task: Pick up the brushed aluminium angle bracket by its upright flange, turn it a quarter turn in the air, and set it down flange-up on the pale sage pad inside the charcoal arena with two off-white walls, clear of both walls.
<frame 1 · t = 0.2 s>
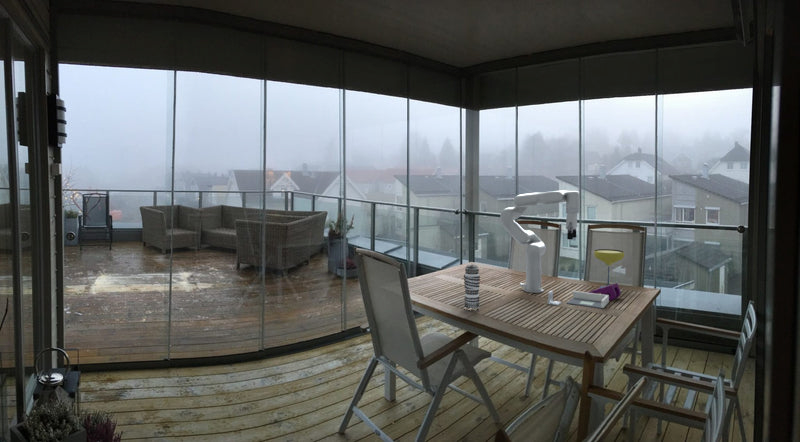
hand: (571, 238, 286), 36 cm above the table, tool pointing down, fingers open, 9 cm apart
angle bracket: (554, 303, 272), on the table
arena: (587, 303, 271), on the table
cocktail glass: (608, 288, 309), on the table
decorative candle: (471, 308, 263), on the table
mounting bracket: (602, 298, 285), on the table
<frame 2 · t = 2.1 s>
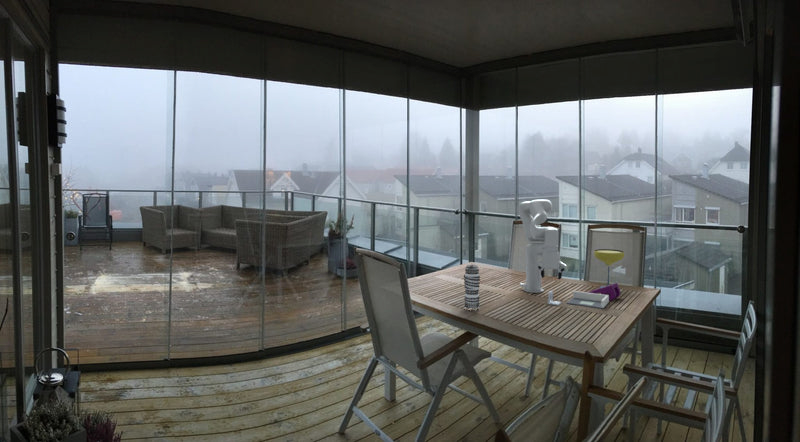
hand: (551, 278, 271), 15 cm above the table, tool pointing down, fingers open, 9 cm apart
nothing on the table moved.
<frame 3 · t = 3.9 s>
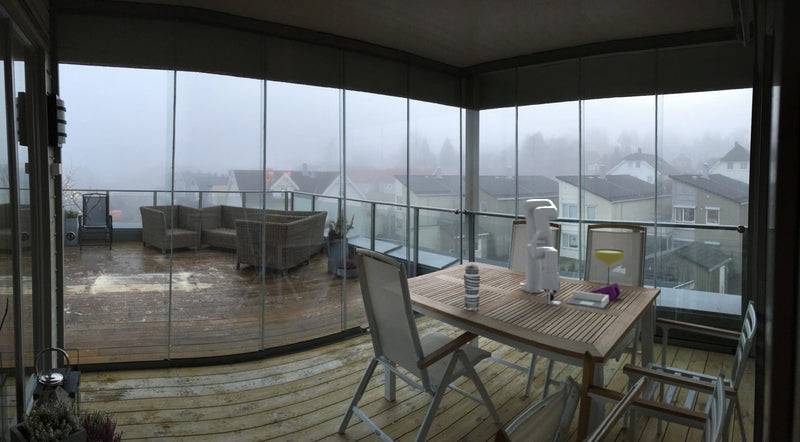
hand: (550, 300, 273), 1 cm above the table, tool pointing down, fingers closed on angle bracket
angle bracket: (554, 303, 272), on the table, touching gripper
everything else where it was.
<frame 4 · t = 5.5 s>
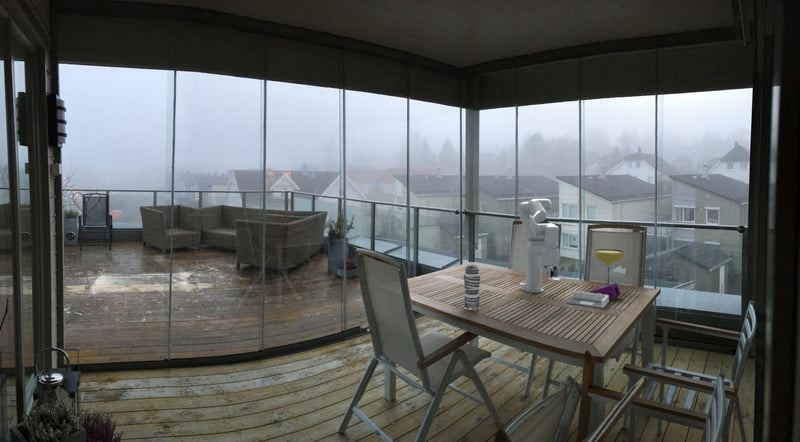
hand: (550, 277, 272), 16 cm above the table, tool pointing down, fingers closed on angle bracket
angle bracket: (554, 279, 271), point 14 cm above the table, touching gripper
everything else where it was.
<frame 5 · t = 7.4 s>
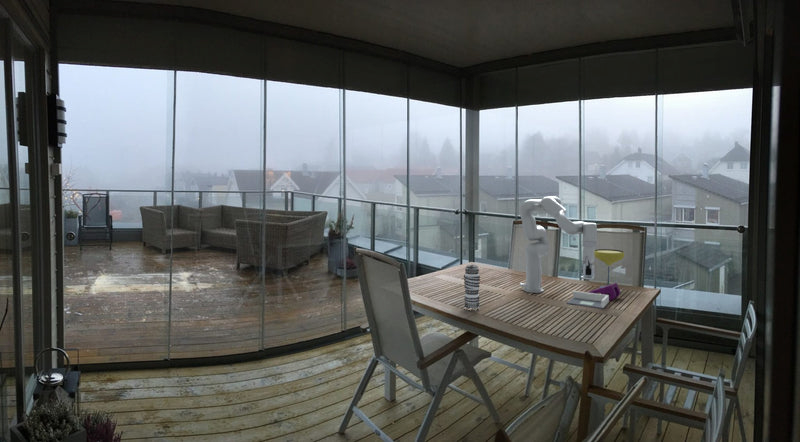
hand: (588, 274, 270), 17 cm above the table, tool pointing down, fingers closed on angle bracket
angle bracket: (587, 277, 269), point 16 cm above the table, touching gripper
everything else where it was.
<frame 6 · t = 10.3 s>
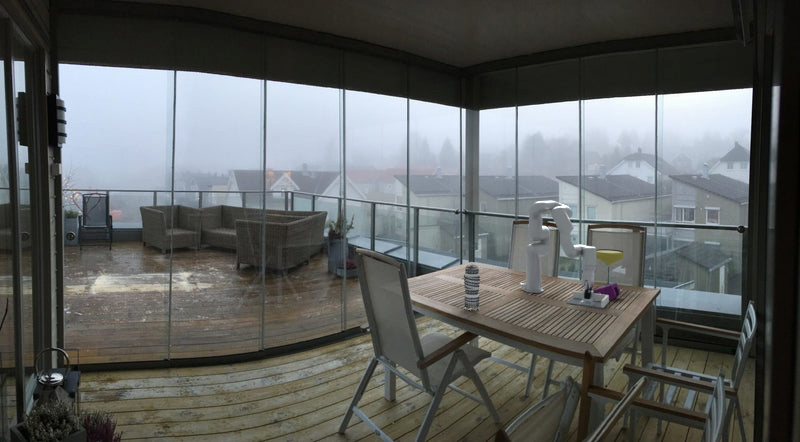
hand: (588, 297, 272), 3 cm above the table, tool pointing down, fingers open, 3 cm apart
angle bracket: (586, 302, 270), point 1 cm above the table, touching arena
everything else where it was.
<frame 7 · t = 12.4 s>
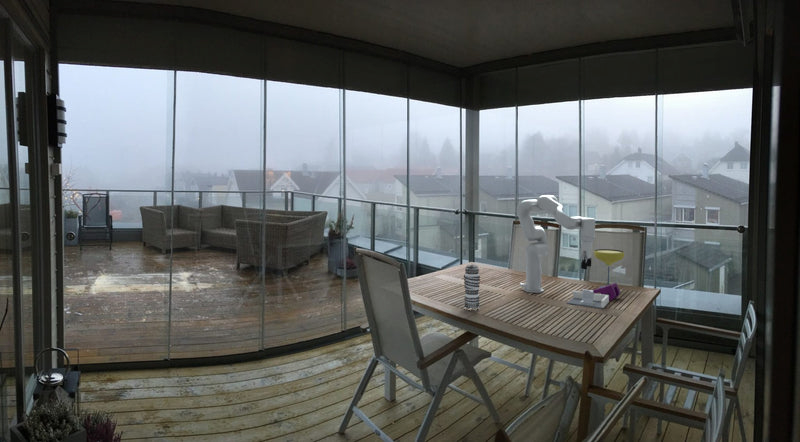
hand: (586, 267, 272), 21 cm above the table, tool pointing down, fingers open, 9 cm apart
nothing on the table moved.
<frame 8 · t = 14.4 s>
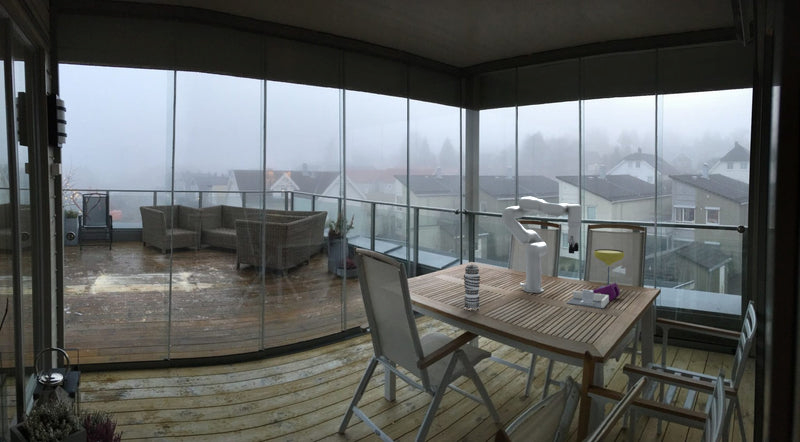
hand: (573, 252, 283), 28 cm above the table, tool pointing down, fingers open, 9 cm apart
nothing on the table moved.
at the end: angle bracket 0.1 cm from the target spot, point 0.7 cm above the table; angle bracket tilted 0°; the gripper is holding nothing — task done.
